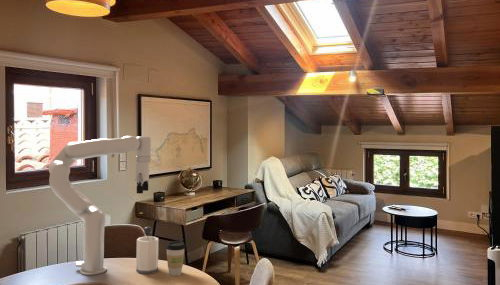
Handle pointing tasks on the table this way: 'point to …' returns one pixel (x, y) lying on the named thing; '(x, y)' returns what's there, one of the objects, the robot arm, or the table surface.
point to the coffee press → (147, 255)
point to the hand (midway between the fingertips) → (142, 191)
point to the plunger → (147, 231)
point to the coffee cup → (175, 257)
